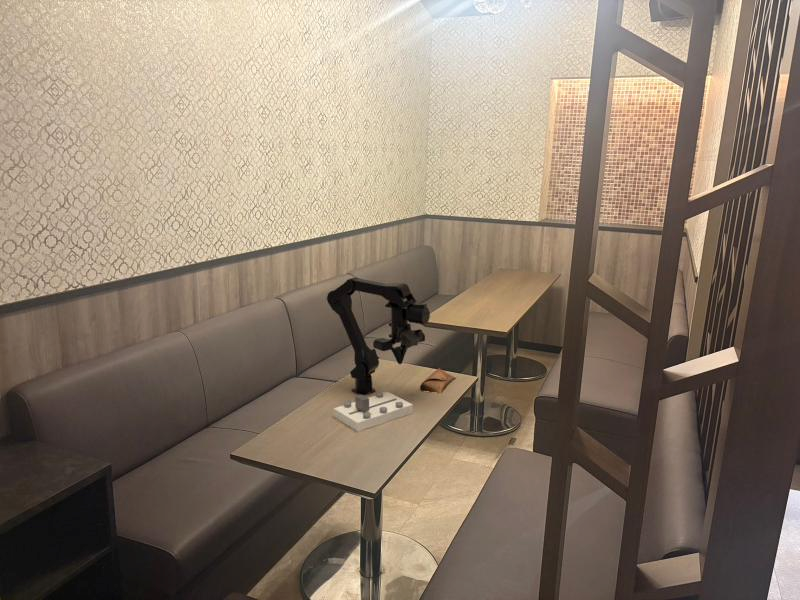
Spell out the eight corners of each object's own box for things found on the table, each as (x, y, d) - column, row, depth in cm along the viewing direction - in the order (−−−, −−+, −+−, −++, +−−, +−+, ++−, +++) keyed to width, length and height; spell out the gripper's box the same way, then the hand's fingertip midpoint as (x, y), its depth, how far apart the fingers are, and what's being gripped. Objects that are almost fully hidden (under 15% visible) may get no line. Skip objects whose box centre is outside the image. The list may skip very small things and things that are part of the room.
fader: (355, 407, 191) (355, 396, 190) (361, 405, 193) (361, 394, 192) (363, 412, 188) (362, 400, 187) (369, 410, 189) (369, 398, 189)
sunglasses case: (442, 394, 210) (433, 377, 210) (426, 400, 213) (417, 384, 213) (457, 377, 226) (449, 362, 226) (442, 383, 229) (434, 368, 229)
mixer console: (334, 416, 193) (333, 404, 192) (387, 399, 206) (387, 388, 205) (357, 431, 182) (357, 419, 181) (412, 412, 195) (412, 401, 194)
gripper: (391, 330, 188) (392, 376, 192) (435, 320, 199) (435, 364, 203) (371, 323, 197) (372, 367, 200) (414, 314, 208) (415, 356, 211)
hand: (399, 363), depth 204 cm, fingers closed
